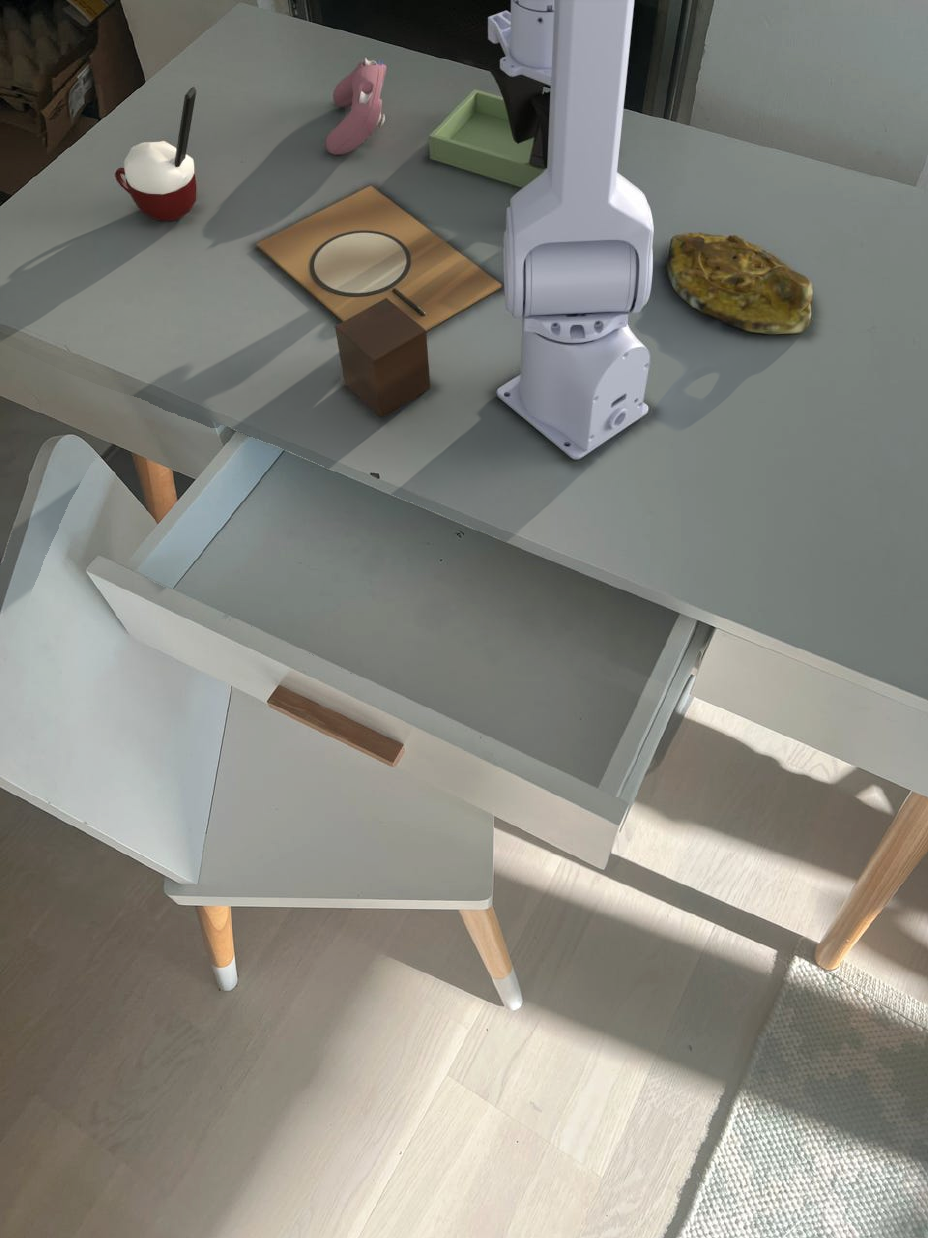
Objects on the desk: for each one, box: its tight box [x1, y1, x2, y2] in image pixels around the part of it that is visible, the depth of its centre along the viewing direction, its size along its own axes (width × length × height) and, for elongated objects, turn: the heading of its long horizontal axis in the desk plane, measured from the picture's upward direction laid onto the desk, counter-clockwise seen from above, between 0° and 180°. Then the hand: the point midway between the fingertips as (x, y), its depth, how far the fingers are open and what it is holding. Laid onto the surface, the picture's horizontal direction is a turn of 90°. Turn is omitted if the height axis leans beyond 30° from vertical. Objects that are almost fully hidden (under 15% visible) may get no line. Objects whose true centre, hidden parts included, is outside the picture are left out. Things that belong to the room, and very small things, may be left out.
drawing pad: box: [256, 185, 502, 332], centre depth 89 cm, size 19×13×1 cm
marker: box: [529, 90, 549, 168], centre depth 91 cm, size 2×2×6 cm
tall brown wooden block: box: [334, 298, 431, 418], centre depth 78 cm, size 5×5×6 cm
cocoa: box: [114, 86, 198, 222], centre depth 89 cm, size 10×6×12 cm, turn 53°
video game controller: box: [325, 57, 387, 156], centre depth 98 cm, size 10×5×7 cm, turn 179°
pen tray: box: [428, 88, 546, 189], centre depth 96 cm, size 15×9×2 cm, turn 61°
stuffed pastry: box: [666, 232, 814, 335], centre depth 84 cm, size 9×5×15 cm
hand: (540, 151), depth 92 cm, fingers open, 4 cm apart
